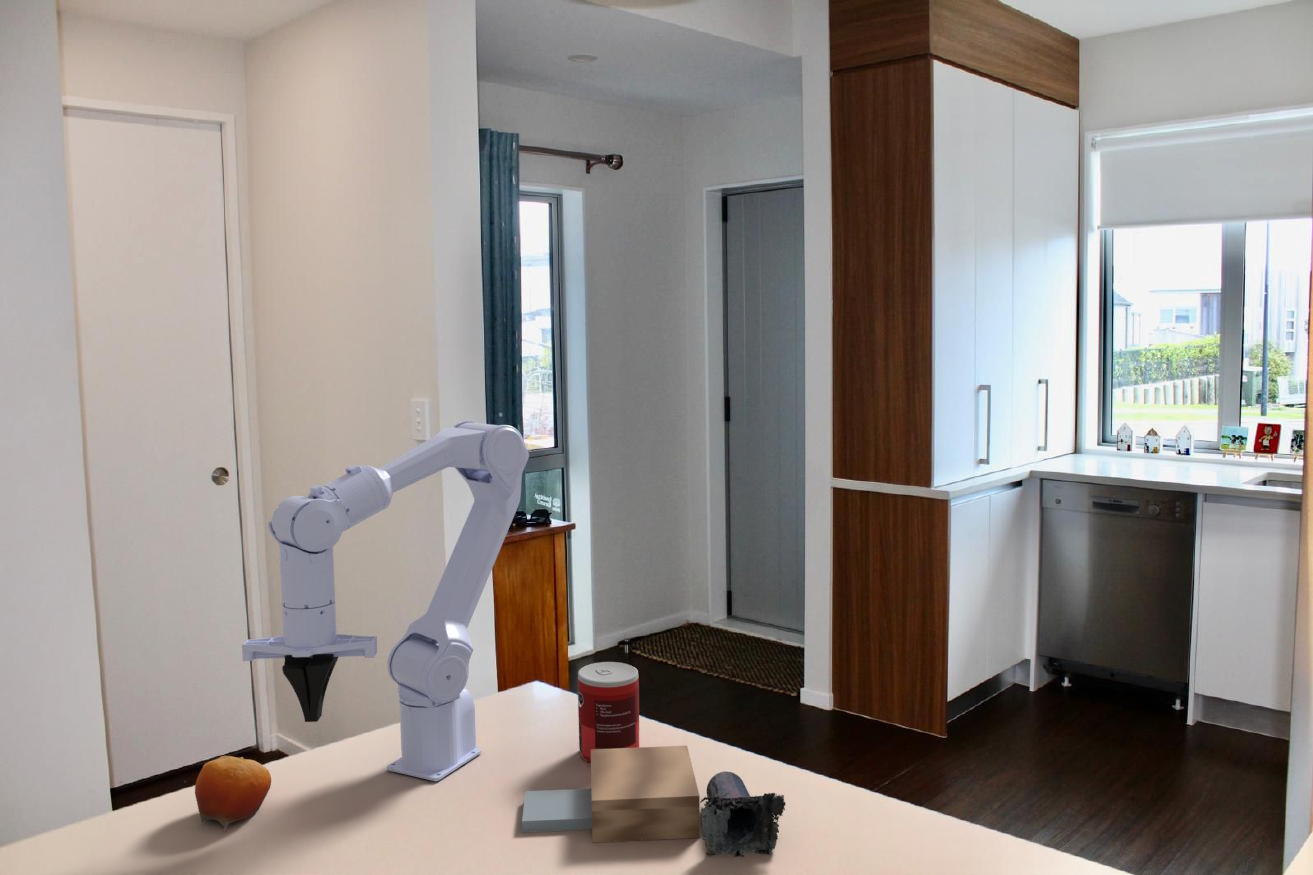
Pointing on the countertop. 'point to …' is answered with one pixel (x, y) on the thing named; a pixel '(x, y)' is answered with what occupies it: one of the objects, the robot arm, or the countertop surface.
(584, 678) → the canned food
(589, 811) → the tile
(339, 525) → the robot arm
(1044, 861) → the countertop surface
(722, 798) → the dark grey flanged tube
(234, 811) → the fruit
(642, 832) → the brown wooden block
